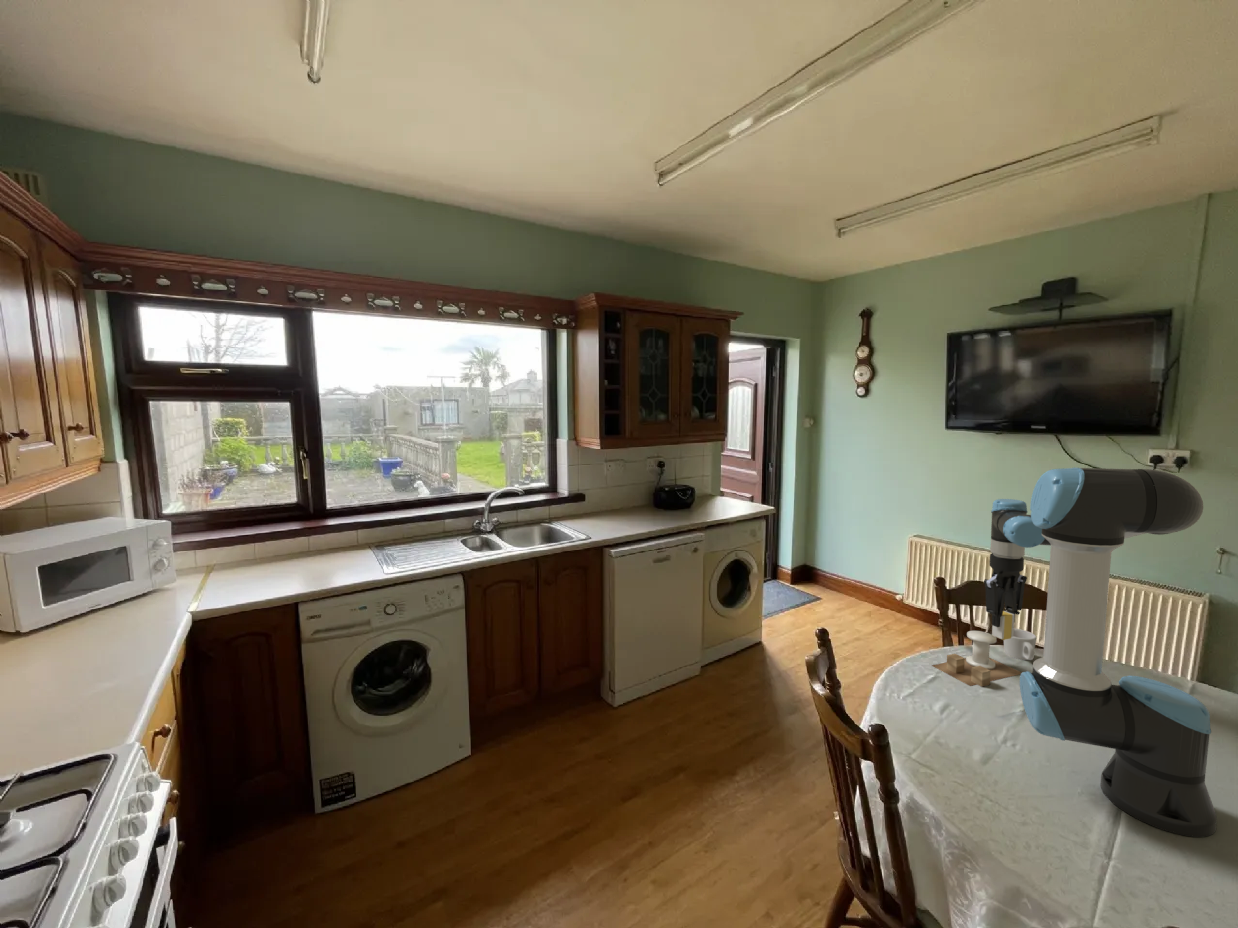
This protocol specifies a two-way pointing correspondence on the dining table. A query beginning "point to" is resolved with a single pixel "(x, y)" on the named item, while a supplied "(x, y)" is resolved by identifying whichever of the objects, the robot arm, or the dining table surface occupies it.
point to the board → (968, 671)
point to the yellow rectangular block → (1007, 625)
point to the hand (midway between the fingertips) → (1002, 635)
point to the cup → (1020, 645)
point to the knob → (981, 649)
